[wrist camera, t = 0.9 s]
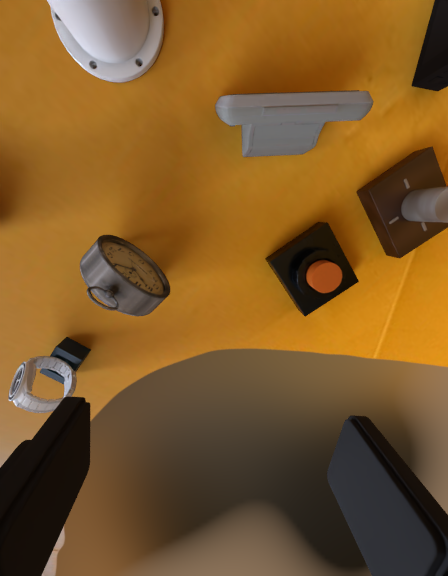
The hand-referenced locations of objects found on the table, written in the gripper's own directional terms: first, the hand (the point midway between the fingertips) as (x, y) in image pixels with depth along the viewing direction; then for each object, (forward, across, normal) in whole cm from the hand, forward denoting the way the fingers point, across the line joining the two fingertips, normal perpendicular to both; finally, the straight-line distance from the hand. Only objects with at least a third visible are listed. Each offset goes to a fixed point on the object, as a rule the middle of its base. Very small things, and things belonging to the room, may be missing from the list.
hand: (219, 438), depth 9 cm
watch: (+32, +21, +18) cm, 42 cm away
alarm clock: (+32, +11, +2) cm, 34 cm away
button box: (+32, -16, -2) cm, 36 cm away
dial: (+29, -29, -14) cm, 43 cm away
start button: (+27, -16, -2) cm, 32 cm away
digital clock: (+32, -6, -21) cm, 39 cm away
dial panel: (+32, -29, -14) cm, 45 cm away
